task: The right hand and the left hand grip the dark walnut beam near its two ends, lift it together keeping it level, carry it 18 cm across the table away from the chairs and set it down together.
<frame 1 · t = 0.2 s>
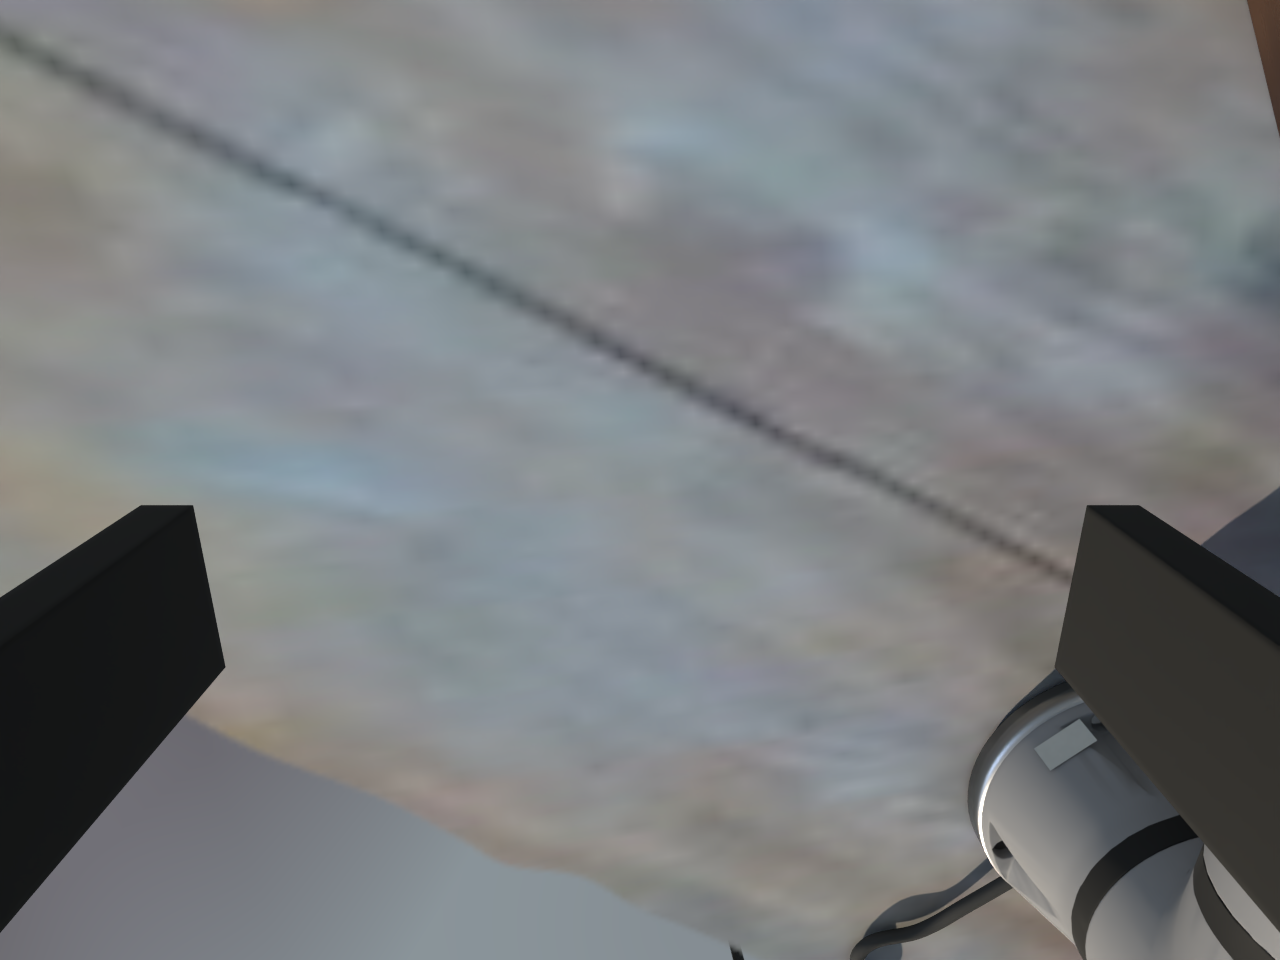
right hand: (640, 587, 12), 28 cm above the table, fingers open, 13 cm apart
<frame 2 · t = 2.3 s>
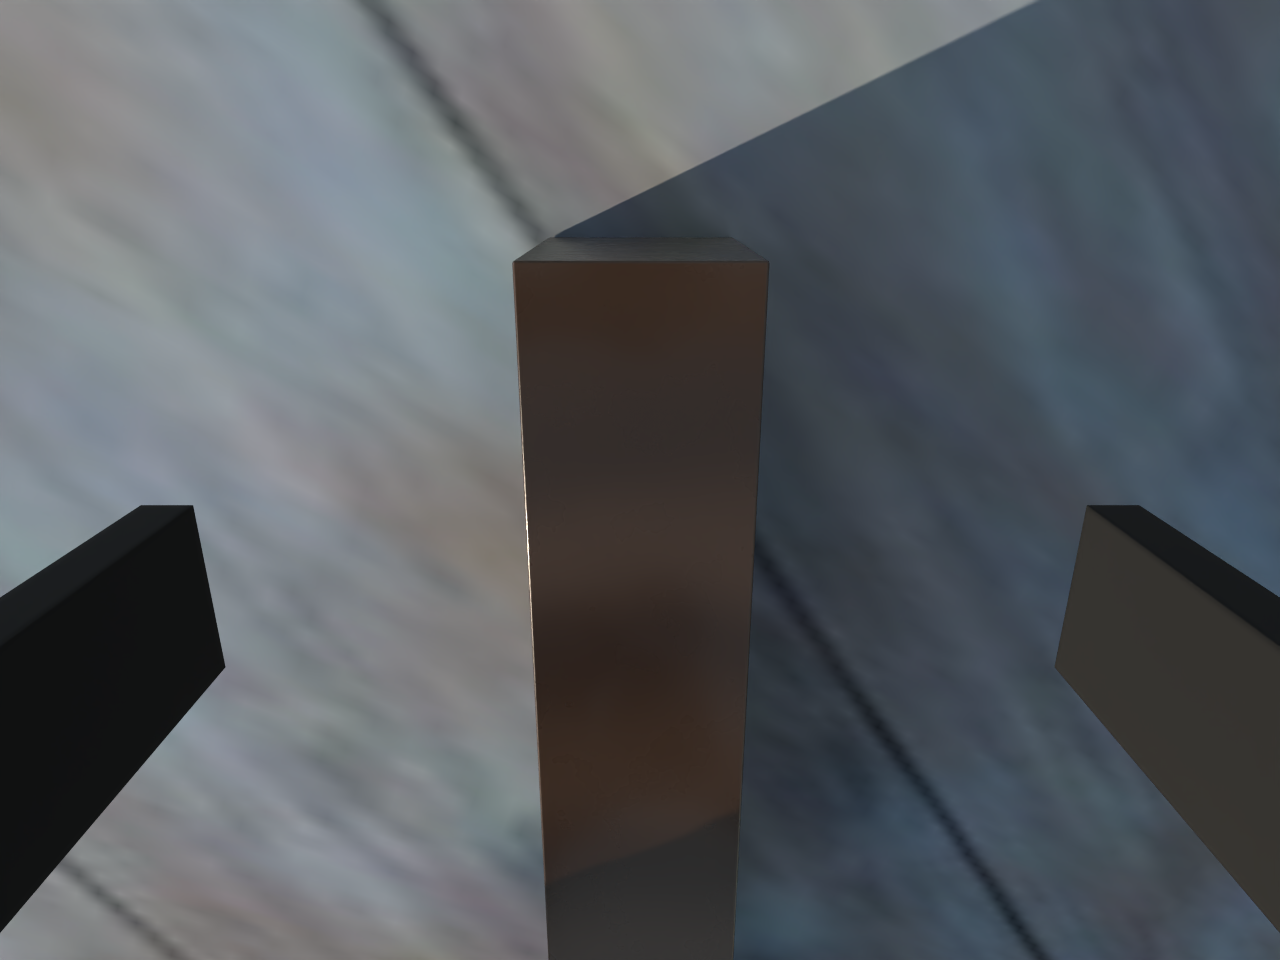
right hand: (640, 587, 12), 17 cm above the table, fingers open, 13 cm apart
walnut beam: (640, 707, 33), on the table
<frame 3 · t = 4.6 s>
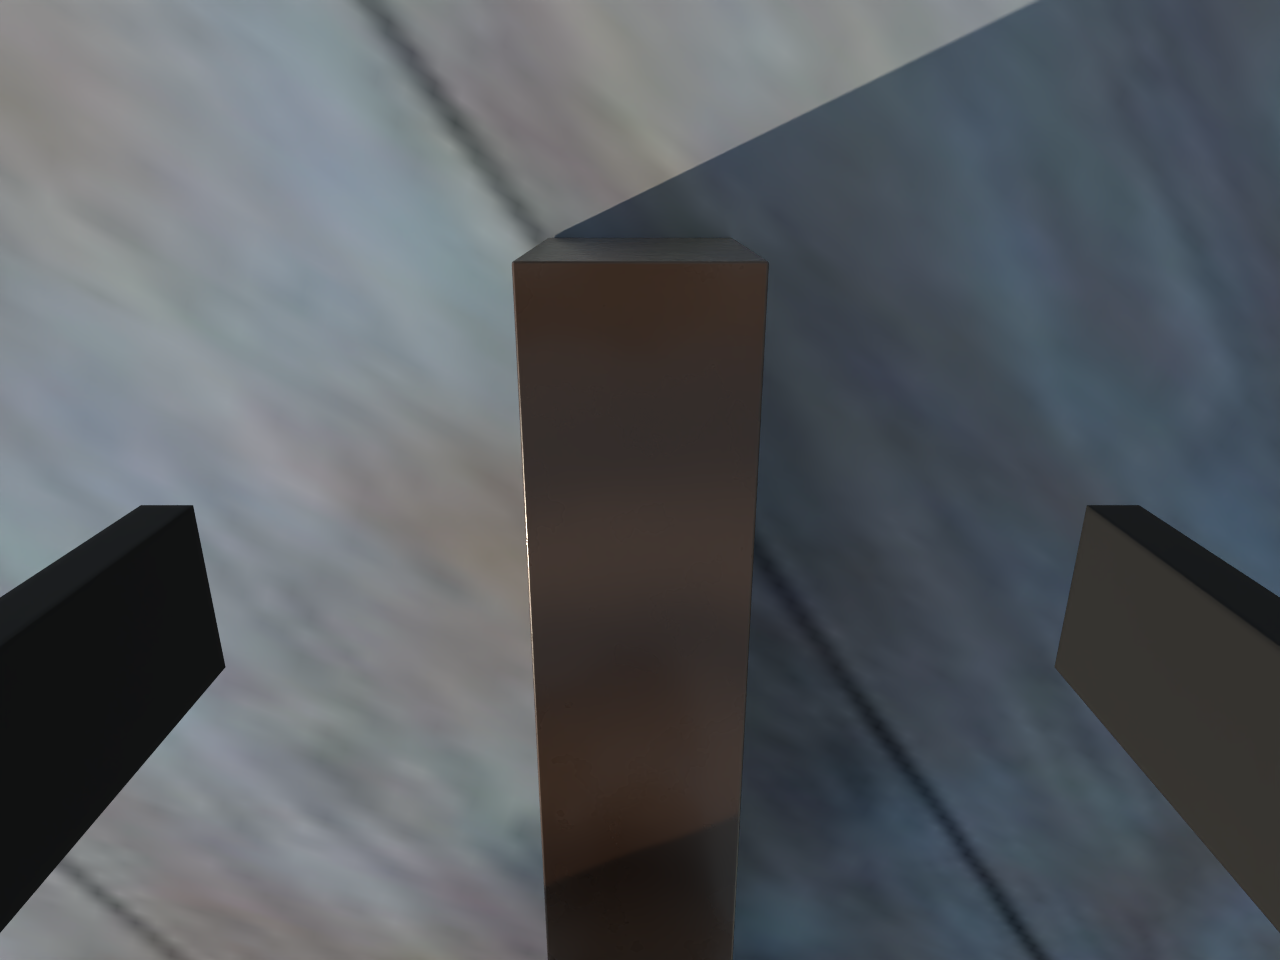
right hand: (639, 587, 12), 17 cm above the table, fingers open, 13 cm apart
walnut beam: (640, 707, 33), on the table, touching left hand
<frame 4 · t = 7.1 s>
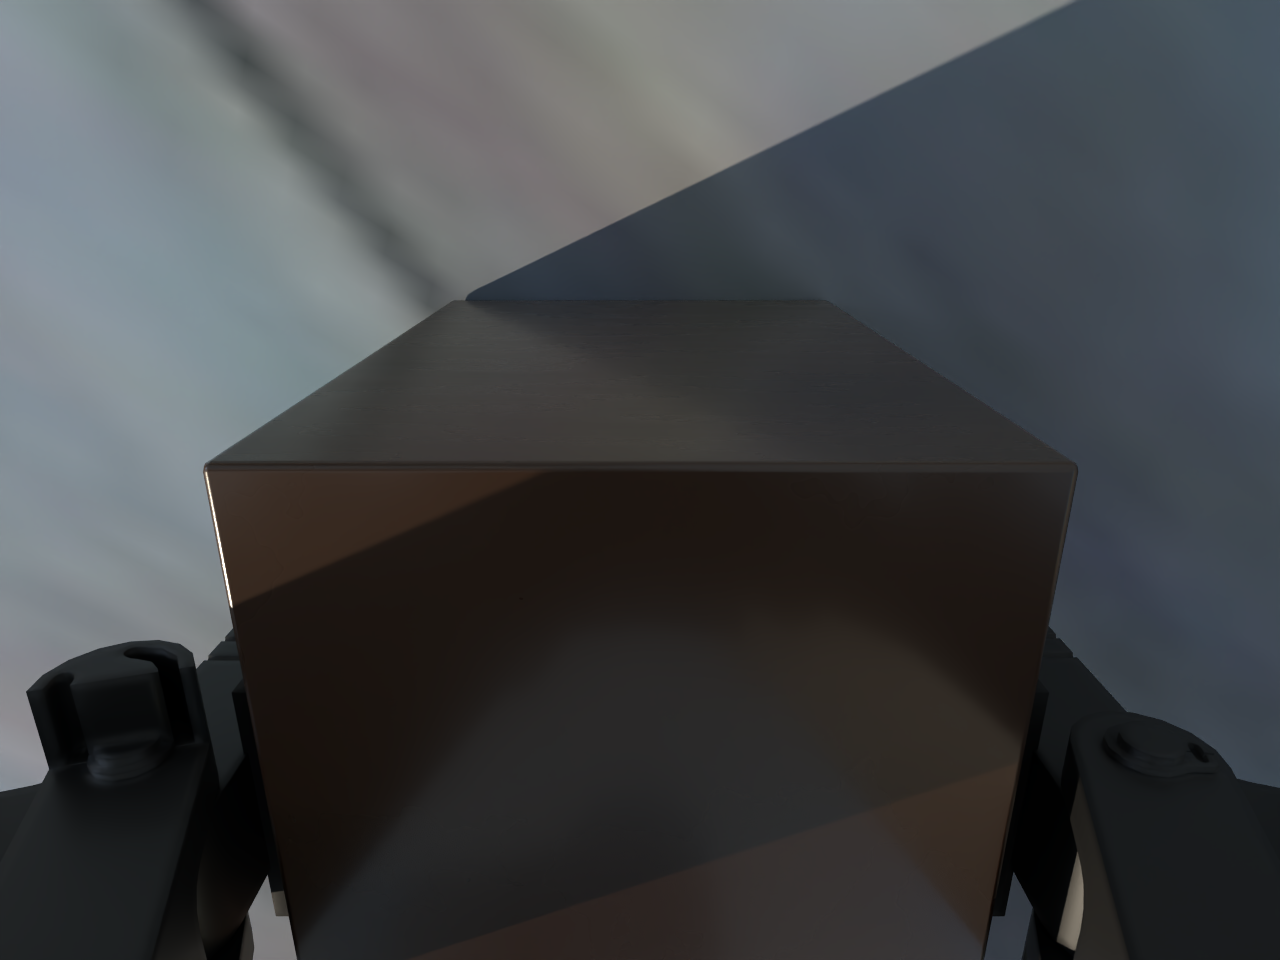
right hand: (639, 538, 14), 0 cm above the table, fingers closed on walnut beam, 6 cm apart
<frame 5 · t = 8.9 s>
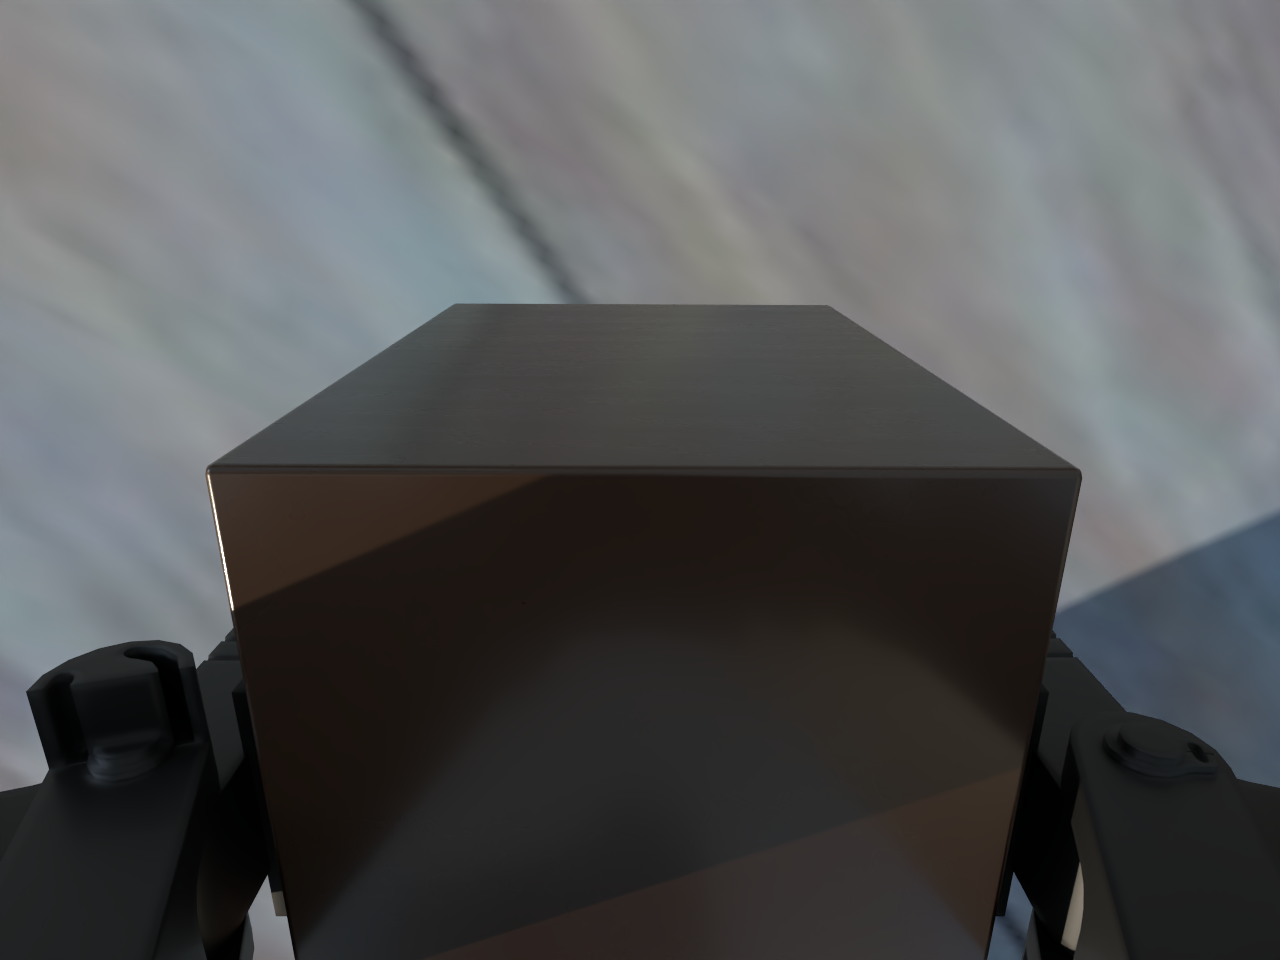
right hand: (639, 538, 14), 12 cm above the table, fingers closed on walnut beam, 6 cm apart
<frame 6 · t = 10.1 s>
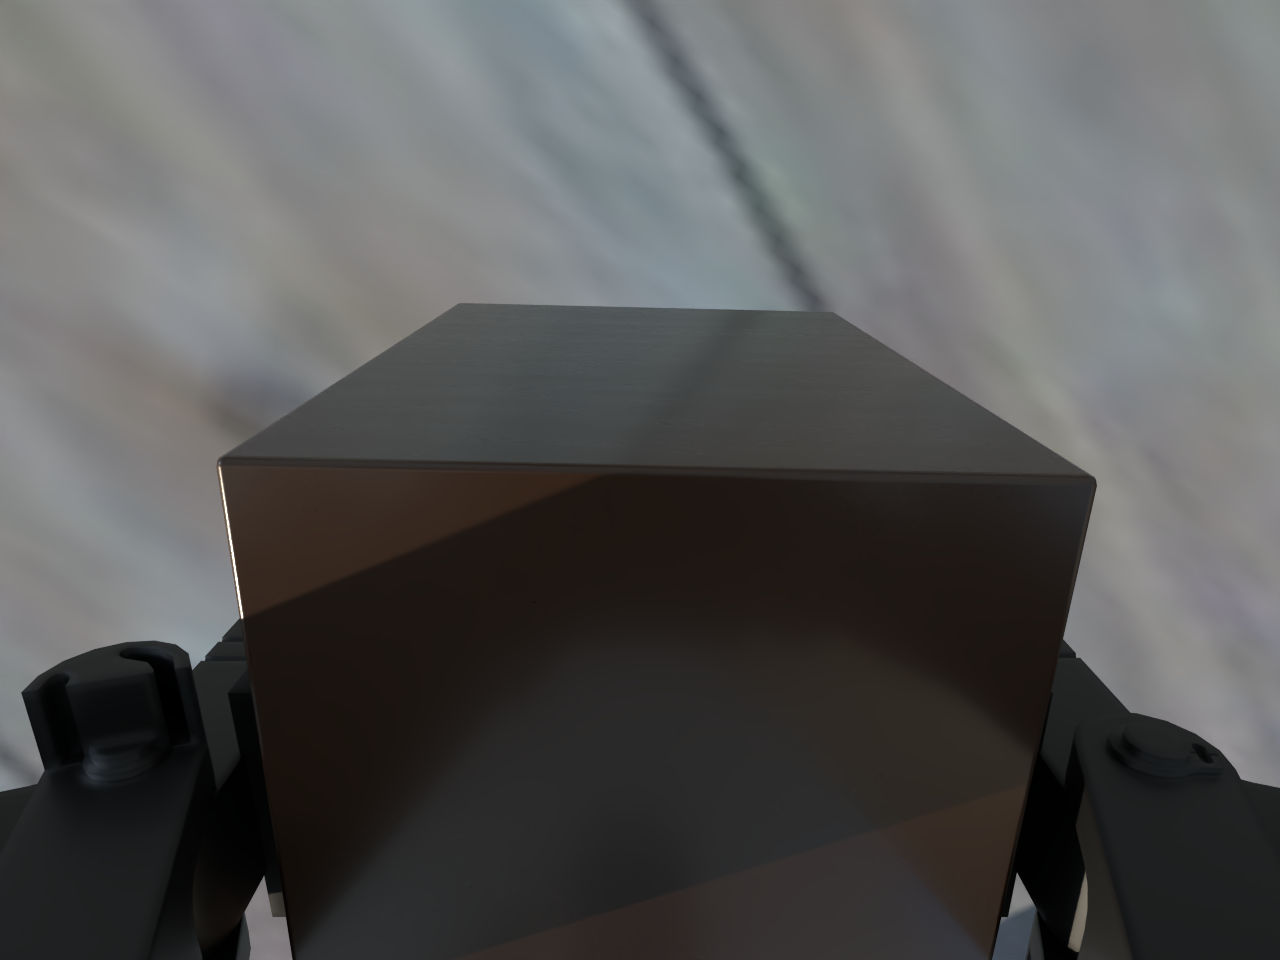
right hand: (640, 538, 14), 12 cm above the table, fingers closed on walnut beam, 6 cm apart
when the left hand's fingers open (2 cm above the table, at t = 13.0 s): walnut beam drops 1 cm, on the table.
when the right hand's fingers open (2 cm above the table, at t = 13.0 s): walnut beam drops 1 cm, on the table.
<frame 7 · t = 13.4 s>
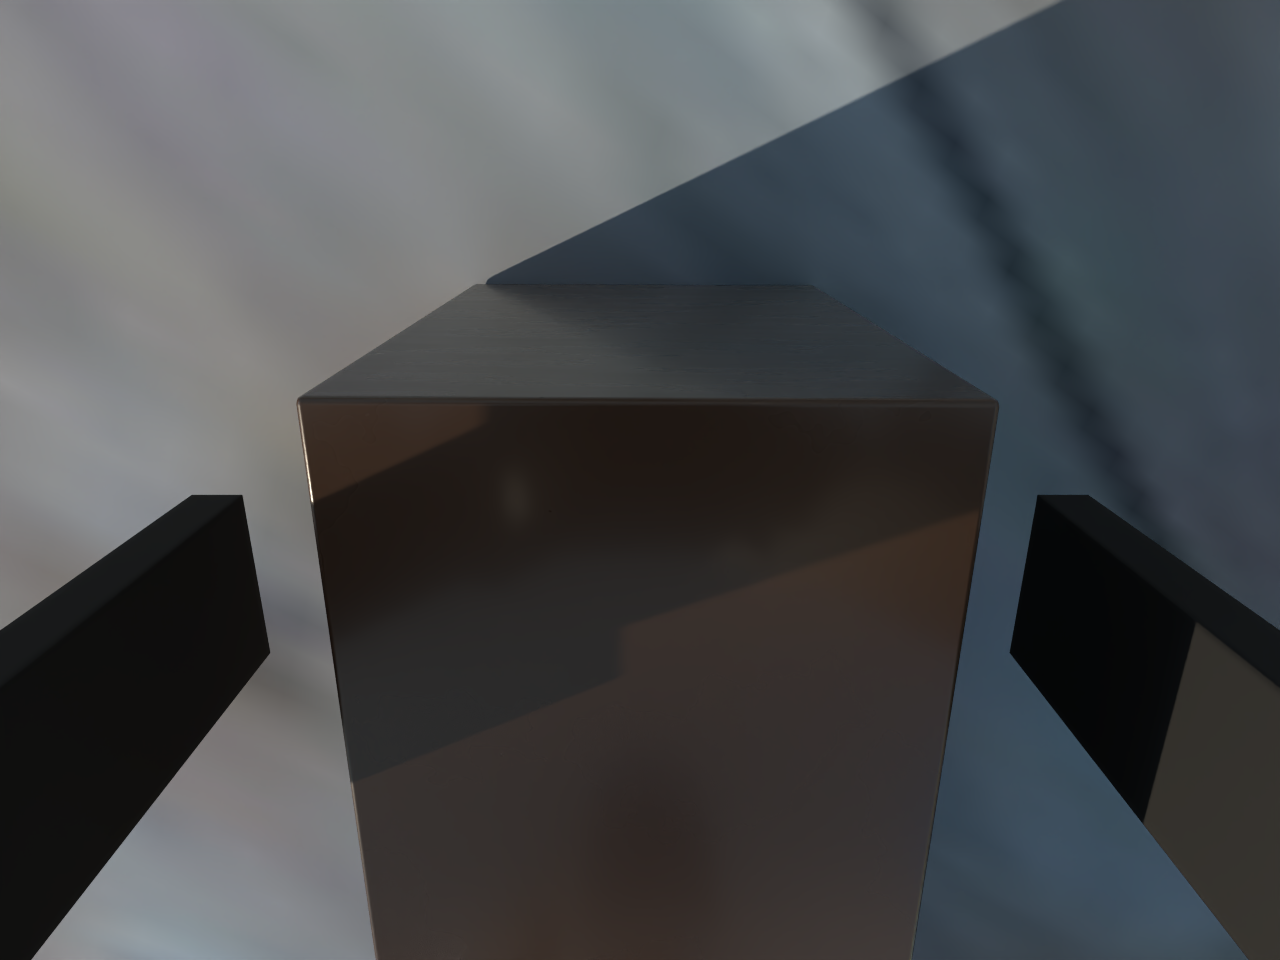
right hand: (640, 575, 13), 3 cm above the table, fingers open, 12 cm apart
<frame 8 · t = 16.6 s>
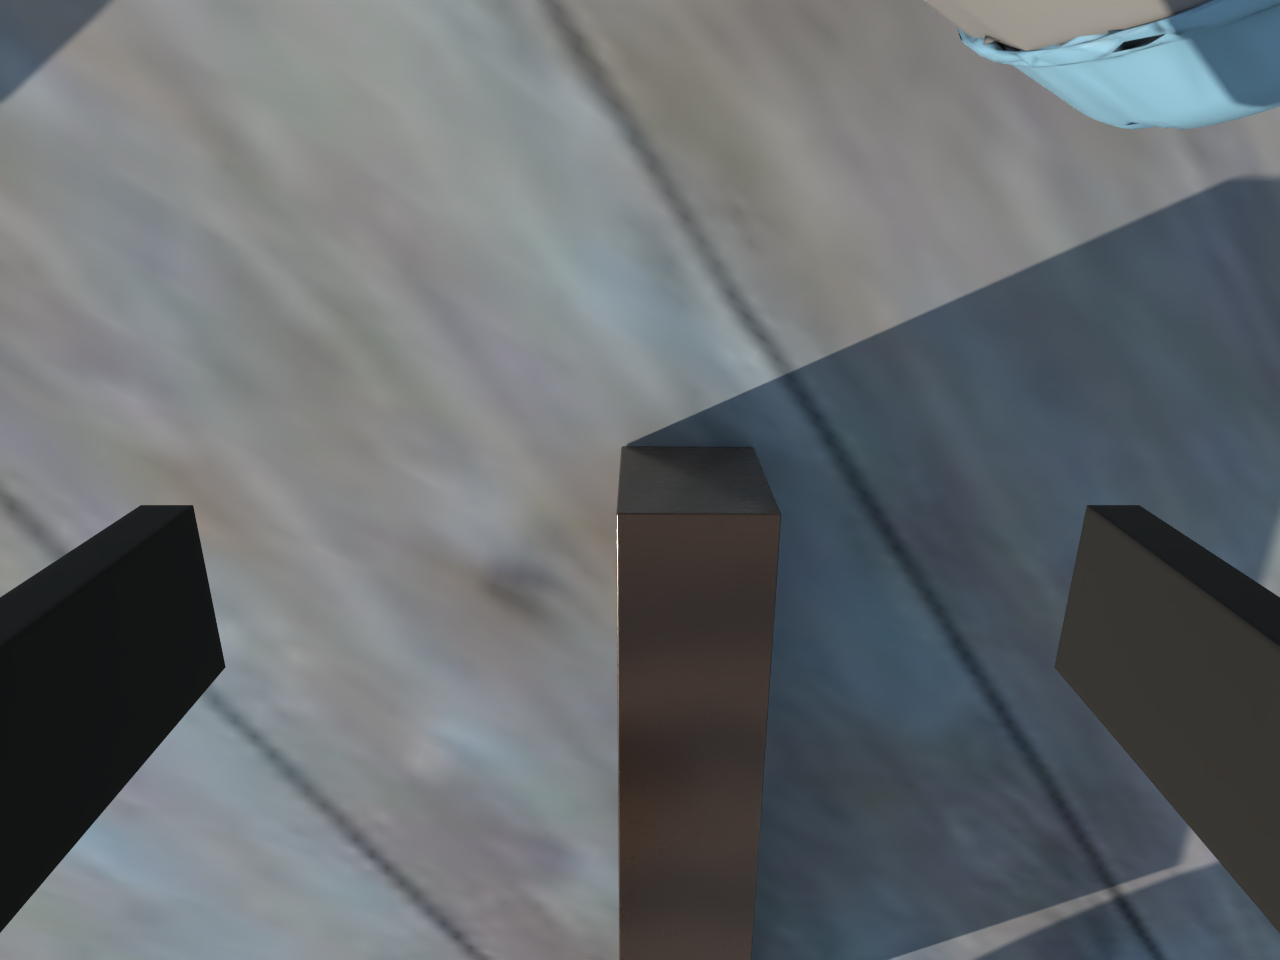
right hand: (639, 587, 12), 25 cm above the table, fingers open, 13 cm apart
walnut beam: (679, 770, 44), on the table
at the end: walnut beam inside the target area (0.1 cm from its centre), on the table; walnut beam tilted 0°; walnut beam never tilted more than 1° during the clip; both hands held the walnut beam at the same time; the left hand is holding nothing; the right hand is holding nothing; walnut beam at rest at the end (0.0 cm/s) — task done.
